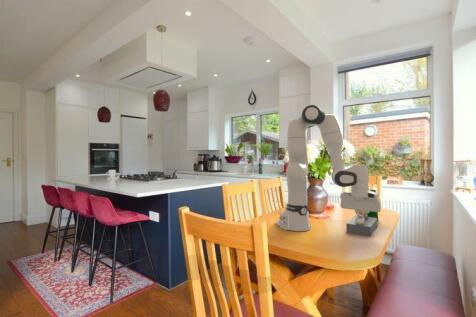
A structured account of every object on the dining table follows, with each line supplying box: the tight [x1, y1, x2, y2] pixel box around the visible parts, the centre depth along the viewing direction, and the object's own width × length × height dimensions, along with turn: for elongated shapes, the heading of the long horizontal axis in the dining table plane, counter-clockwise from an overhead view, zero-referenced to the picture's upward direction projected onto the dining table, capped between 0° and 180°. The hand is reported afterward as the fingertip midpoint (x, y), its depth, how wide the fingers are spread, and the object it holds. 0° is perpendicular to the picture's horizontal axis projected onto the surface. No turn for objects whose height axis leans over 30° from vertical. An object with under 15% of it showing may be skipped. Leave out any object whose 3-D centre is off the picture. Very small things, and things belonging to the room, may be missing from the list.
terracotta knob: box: [358, 210, 367, 218], centre depth 146 cm, size 5×5×7 cm
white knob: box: [354, 216, 364, 225], centre depth 139 cm, size 5×5×7 cm
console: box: [345, 214, 378, 237], centre depth 146 cm, size 24×12×5 cm, turn 144°
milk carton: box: [367, 189, 380, 222], centre depth 167 cm, size 9×9×20 cm
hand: (360, 218), depth 139 cm, fingers closed, pressing on white knob
